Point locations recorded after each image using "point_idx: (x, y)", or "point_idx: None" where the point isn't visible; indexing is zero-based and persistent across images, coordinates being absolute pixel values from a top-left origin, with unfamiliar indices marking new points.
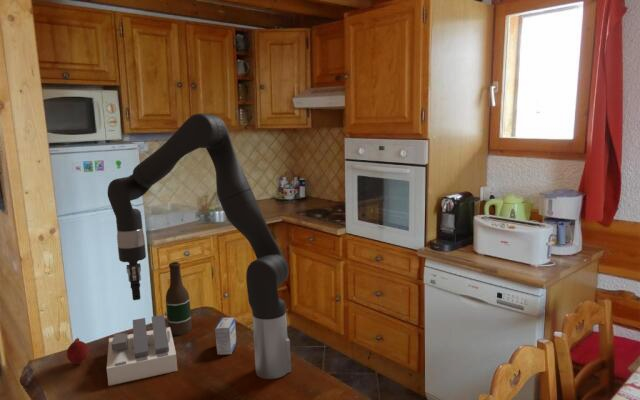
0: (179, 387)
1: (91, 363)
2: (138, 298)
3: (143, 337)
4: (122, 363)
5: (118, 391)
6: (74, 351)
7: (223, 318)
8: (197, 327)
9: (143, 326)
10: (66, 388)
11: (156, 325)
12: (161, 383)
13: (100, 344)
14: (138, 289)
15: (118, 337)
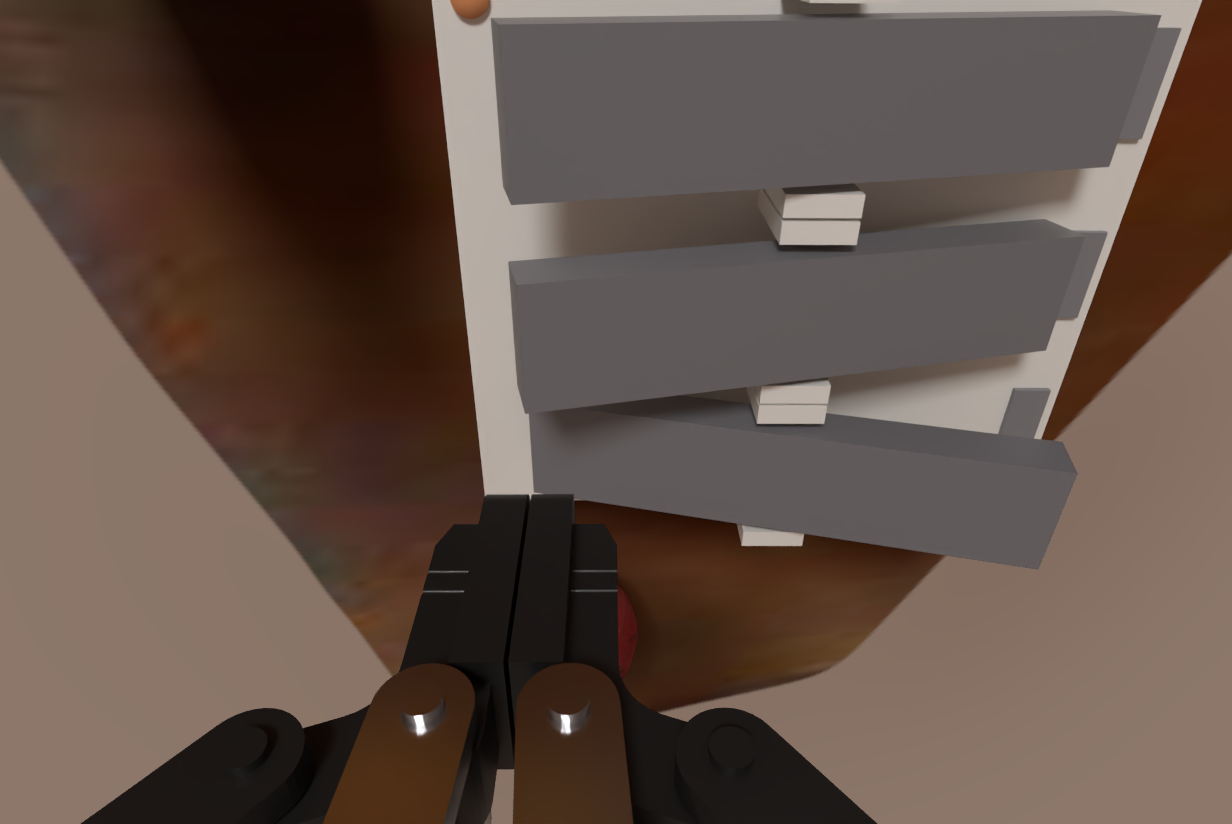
0: None
1: (601, 519)
2: (574, 524)
3: (874, 287)
4: (1033, 414)
5: (1078, 376)
6: (626, 666)
7: None
8: None
9: (684, 295)
10: (840, 601)
11: (724, 144)
12: (1209, 100)
13: (324, 487)
14: (568, 650)
15: (730, 487)
